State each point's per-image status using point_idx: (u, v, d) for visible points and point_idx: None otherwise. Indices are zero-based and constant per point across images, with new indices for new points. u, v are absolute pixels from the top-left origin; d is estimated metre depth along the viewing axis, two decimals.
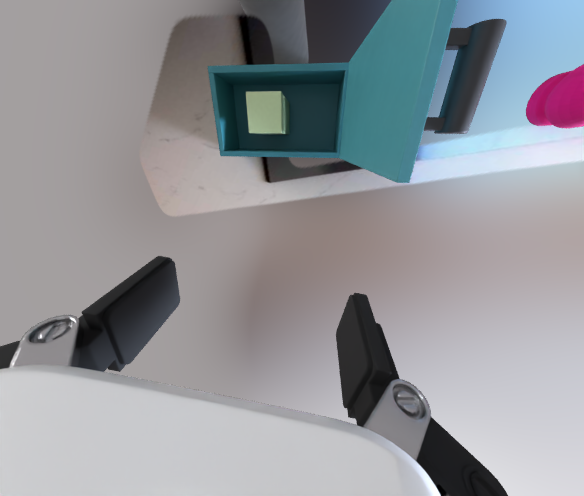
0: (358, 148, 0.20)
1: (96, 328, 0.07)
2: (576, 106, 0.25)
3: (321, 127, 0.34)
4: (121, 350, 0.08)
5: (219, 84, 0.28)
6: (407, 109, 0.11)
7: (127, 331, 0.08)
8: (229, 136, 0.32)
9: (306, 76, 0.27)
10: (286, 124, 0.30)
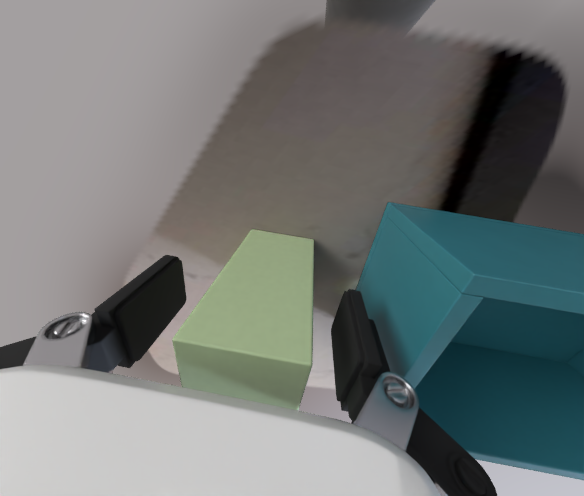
0: None
1: (108, 325, 0.07)
2: None
3: (568, 327, 0.14)
4: (131, 347, 0.08)
5: None
6: None
7: (137, 328, 0.08)
8: None
9: None
10: None
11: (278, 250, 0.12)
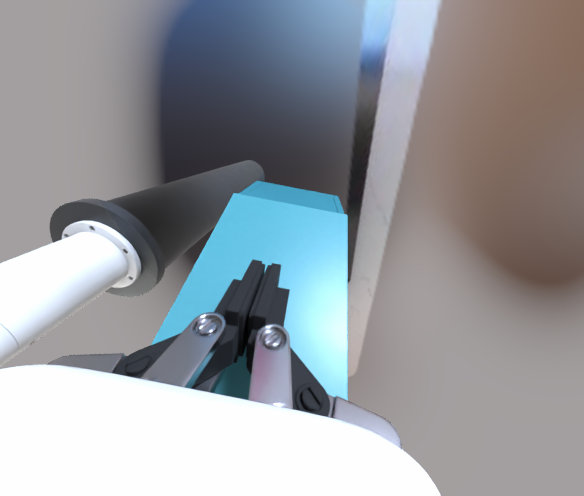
0: None
1: (233, 324, 0.08)
2: None
3: None
4: (243, 343, 0.09)
5: None
6: None
7: (246, 327, 0.09)
8: None
9: None
10: None
11: None
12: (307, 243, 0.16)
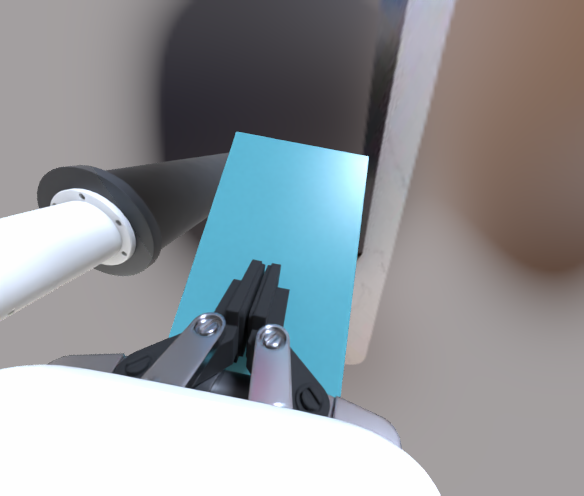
0: None
1: (233, 324, 0.08)
2: None
3: None
4: (243, 343, 0.09)
5: None
6: None
7: (246, 327, 0.09)
8: None
9: None
10: None
11: None
12: (320, 196, 0.15)
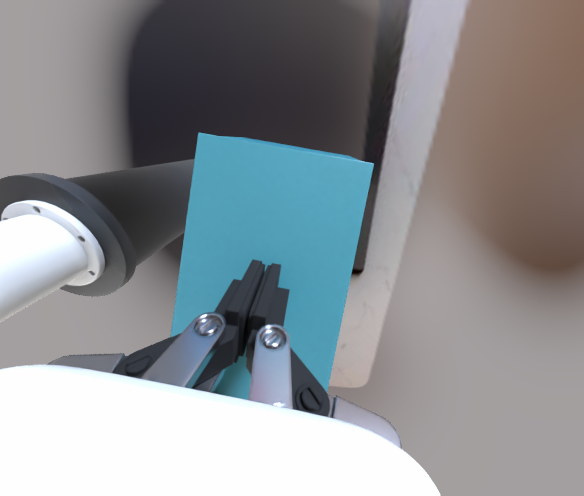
0: None
1: (233, 324, 0.08)
2: None
3: None
4: (243, 344, 0.09)
5: None
6: None
7: (246, 327, 0.09)
8: None
9: None
10: None
11: None
12: (307, 224, 0.12)
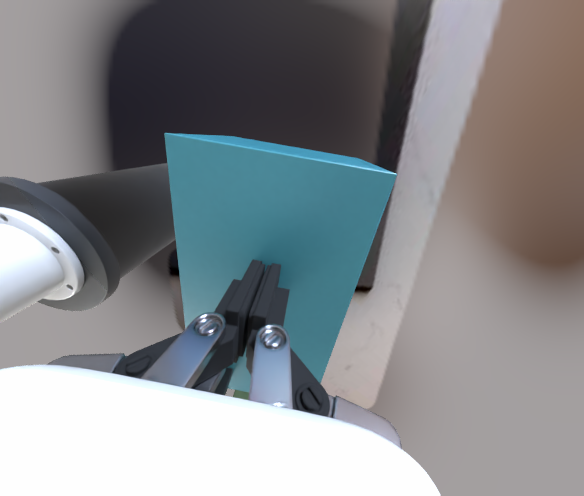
0: None
1: (233, 324, 0.08)
2: None
3: None
4: (243, 344, 0.09)
5: None
6: None
7: (246, 327, 0.09)
8: None
9: None
10: None
11: None
12: (308, 245, 0.11)
